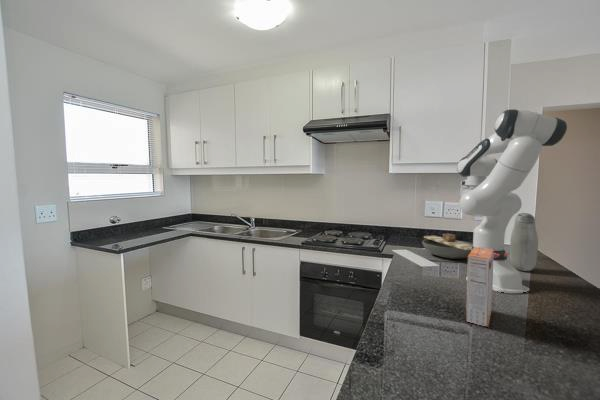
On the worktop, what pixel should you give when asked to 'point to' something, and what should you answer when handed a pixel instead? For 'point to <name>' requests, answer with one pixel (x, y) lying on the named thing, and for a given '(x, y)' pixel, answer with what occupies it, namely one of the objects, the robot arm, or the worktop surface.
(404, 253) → the mat
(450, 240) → the board
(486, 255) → the cracker box
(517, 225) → the grey green vase
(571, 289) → the worktop surface
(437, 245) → the bowl
